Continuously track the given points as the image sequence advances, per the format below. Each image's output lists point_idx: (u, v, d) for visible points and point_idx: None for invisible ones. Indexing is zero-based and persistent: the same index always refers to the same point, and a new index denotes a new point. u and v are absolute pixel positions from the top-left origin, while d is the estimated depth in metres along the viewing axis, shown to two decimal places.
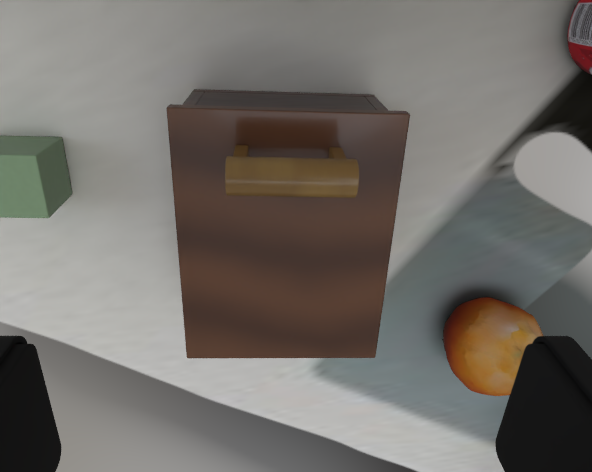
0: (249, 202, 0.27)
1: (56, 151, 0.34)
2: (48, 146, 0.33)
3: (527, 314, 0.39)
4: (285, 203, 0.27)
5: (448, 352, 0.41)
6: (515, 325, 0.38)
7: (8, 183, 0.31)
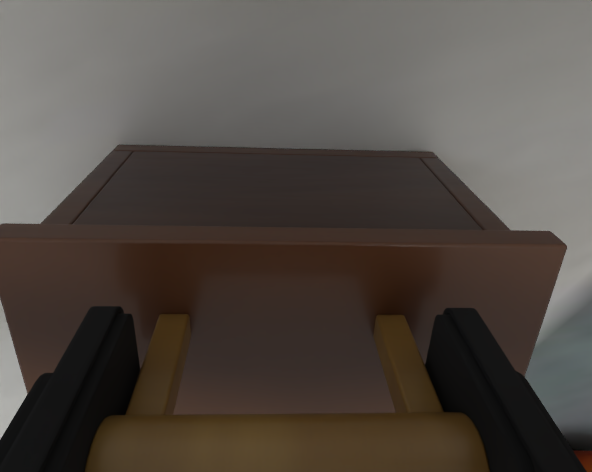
0: None
1: None
2: None
3: None
4: None
5: None
6: None
7: None
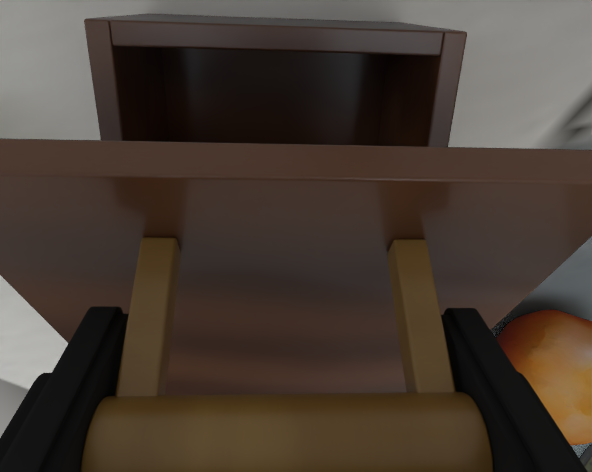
0: (198, 304, 0.12)
1: None
2: None
3: None
4: (277, 305, 0.12)
5: None
6: None
7: None
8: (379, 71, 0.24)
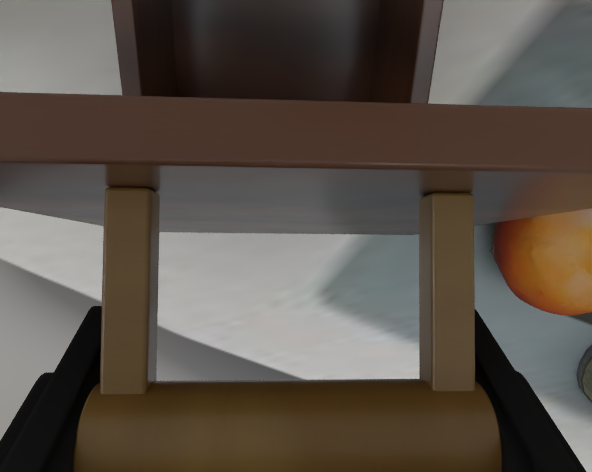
0: (188, 208, 0.11)
1: None
2: None
3: None
4: (281, 209, 0.11)
5: (504, 257, 0.30)
6: None
7: None
8: None
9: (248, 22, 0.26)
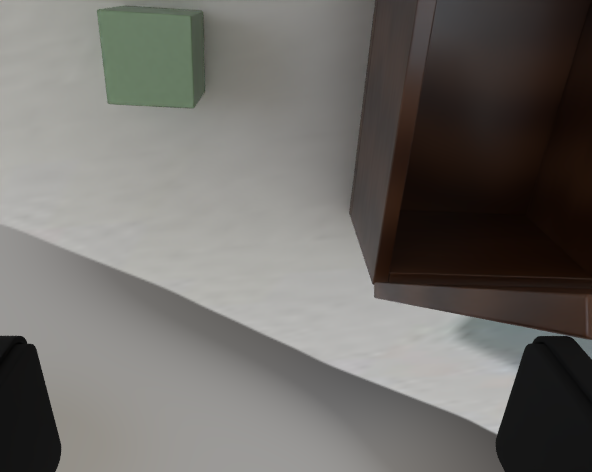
0: None
1: (200, 25, 0.26)
2: (196, 13, 0.25)
3: None
4: None
5: None
6: None
7: (148, 56, 0.24)
8: (583, 9, 0.27)
9: (444, 101, 0.29)
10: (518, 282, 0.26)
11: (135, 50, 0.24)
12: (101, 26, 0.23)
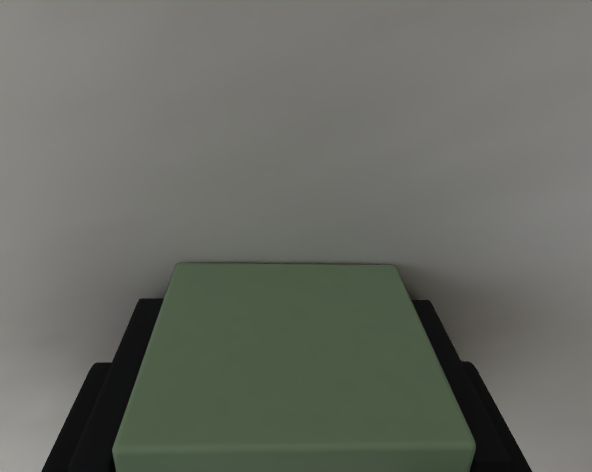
0: None
1: None
2: None
3: None
4: None
5: None
6: None
7: None
8: None
9: None
10: None
11: None
12: None
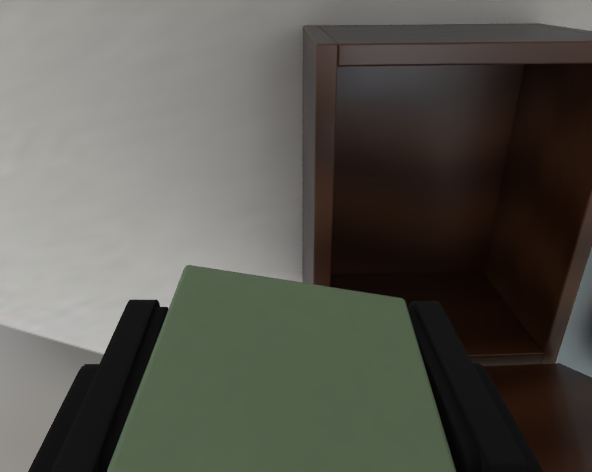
0: None
1: None
2: (430, 387, 0.08)
3: None
4: None
5: None
6: None
7: None
8: (517, 70, 0.26)
9: (385, 168, 0.28)
10: None
11: None
12: None
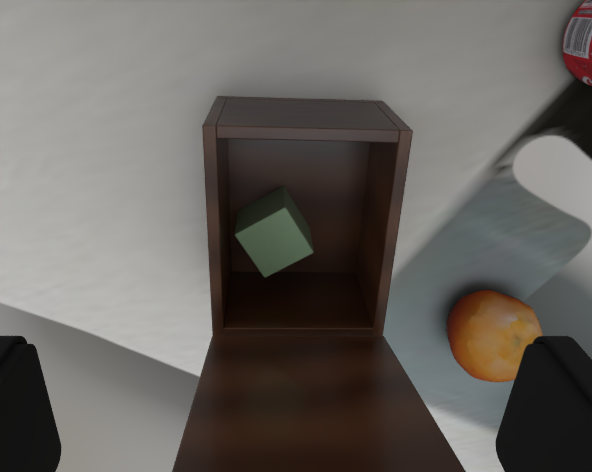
0: None
1: None
2: None
3: (525, 305, 0.42)
4: None
5: (451, 341, 0.43)
6: (514, 315, 0.41)
7: None
8: None
9: None
10: (318, 332, 0.36)
11: None
12: (235, 232, 0.37)
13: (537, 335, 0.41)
